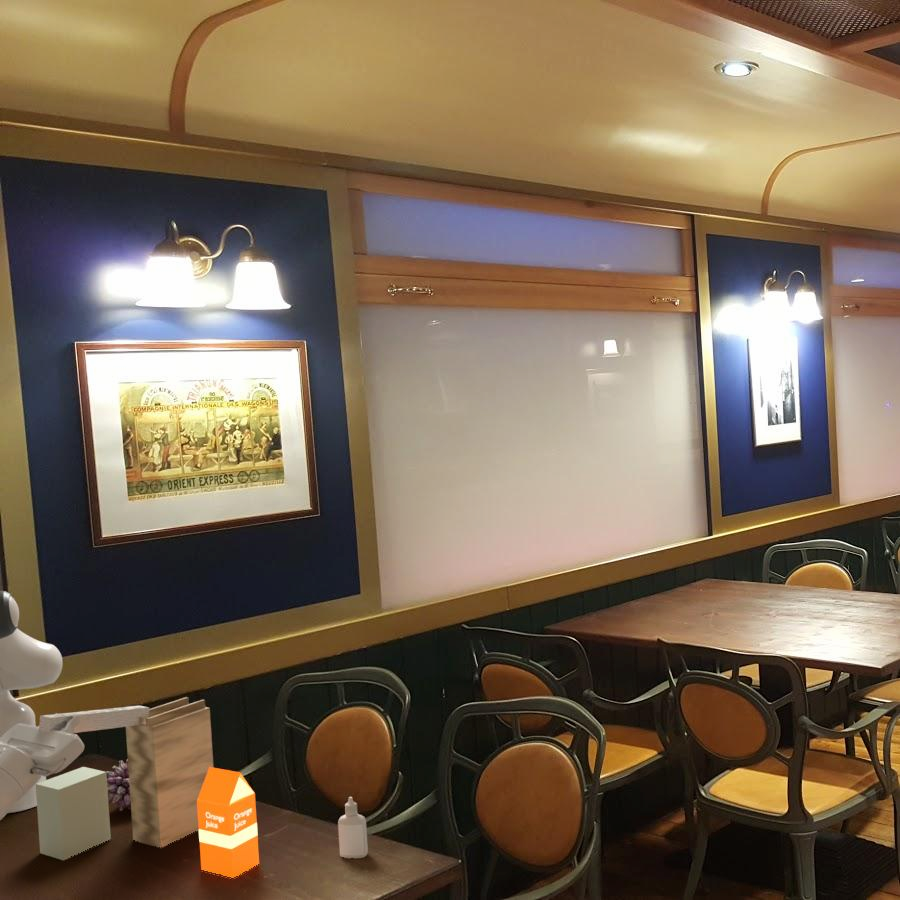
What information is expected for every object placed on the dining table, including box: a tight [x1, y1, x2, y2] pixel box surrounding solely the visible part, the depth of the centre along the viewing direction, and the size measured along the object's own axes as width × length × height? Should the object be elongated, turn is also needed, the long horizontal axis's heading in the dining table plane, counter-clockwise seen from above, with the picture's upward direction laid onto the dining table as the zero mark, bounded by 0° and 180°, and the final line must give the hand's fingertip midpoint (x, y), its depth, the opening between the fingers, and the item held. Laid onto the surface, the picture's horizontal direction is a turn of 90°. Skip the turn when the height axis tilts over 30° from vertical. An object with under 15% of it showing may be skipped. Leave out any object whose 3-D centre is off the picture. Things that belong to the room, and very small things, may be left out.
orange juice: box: [197, 767, 260, 879], centre depth 210 cm, size 8×9×20 cm
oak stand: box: [125, 696, 214, 849], centre depth 231 cm, size 9×16×28 cm, turn 146°
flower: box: [106, 758, 131, 812], centre depth 246 cm, size 12×12×12 cm
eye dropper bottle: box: [337, 796, 369, 859], centre depth 213 cm, size 4×6×12 cm
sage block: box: [36, 766, 112, 861], centre depth 226 cm, size 8×12×15 cm, turn 146°
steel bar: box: [38, 705, 150, 734], centre depth 216 cm, size 4×24×4 cm, turn 145°
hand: (68, 717), depth 211 cm, fingers closed on steel bar, 3 cm apart
